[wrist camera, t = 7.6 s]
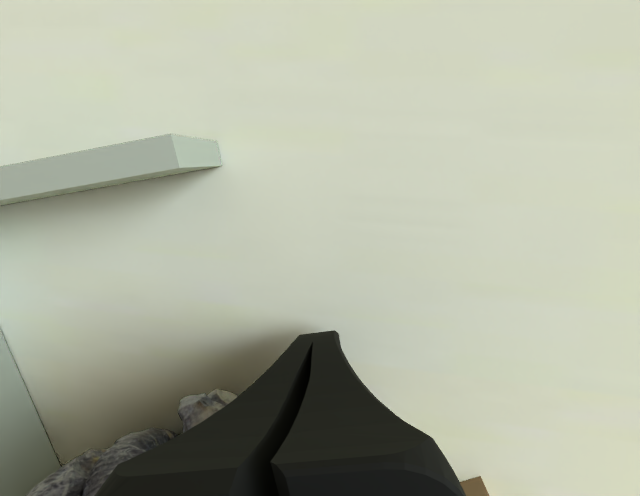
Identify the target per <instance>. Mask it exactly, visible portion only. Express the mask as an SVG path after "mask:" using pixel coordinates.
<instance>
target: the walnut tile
mask: <svg viewBox="0 0 640 496" xmlns="http://www.w3.org/2000/svg"><path fill="white" fill-rule="evenodd" d="M460 484H461V486H462V488H463V490H464V492H465V494H466V496H489V494H488V492H487V490H486V487H485V485H484V483H483V481H482V479H481V476H479V477H476V478H473V479H469V480H466V481H463V482H460Z"/></svg>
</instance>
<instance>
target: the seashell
mask: <svg viewBox="0 0 640 496" xmlns="http://www.w3.org/2000/svg"><path fill="white" fill-rule="evenodd" d="M237 397H238V396H237V395H235V394H233V393H231V392H228V391H224V390H220V389H215V390H213V391H212V392H210V393H209V394H208V395H206V393H202V394H199V395H189V396H186V397H183V398H182V399H181V400H180V405H179V409H178V414H179V416H180V418H181V420H182V421H183V433H184V432H186V431H187V430H189V429H191V428H192V427H194V426H196V425H197V424H199V423H201V422H202V421H204V420H205V419H207V418H208V417H210V416H211V415H213V414H214V413H216V412H217V411H219V410H220V409H222V408H223V407H225V406H226V405H228V404H229V403H230V402H232V401H233V400H234V399H235V398H237ZM176 436H177V435H176V434H175V433H173V432H172V431H169V430H162V429H157V428H149V429H147V430H144V431H139V432H133V433H130V434H128V435H125V436H123V437H121V438H120V439H118V440H116V442H115V443H114V444H113V446H111V447H110V448H109V449H89V450H88V451H86V452H85V453H83V455H81V456H78V457H77V458H75V459H73V460H71V461H70V462H68V463H67V464H65V465H64V466H62V467H61V468H59V469H58V470H57V471H56V472H55V473H52V474H50V475H49V476H48V477H47V478H45V479H44V480H43V481H41V482H40V483H39V484H37V485H36V486H35V487H34V488H33V489H32V490H31V491H30V492H28V493H27V494H26V495H25V496H95V494H96V493H97V492H98V490H99V489H100V488H101V486H102V485H103V483H104V482H105V481H106V479H107V478H108V477H109V475H110V474H111V473H112V471H113V470H114V469H115V467H116V466H117V465H118V464H120V463H122V462H124V461H127V460H129V459H131V458H133V457H135V456H138V455H140V454H142V453H144V452H146V451H148V450H150V449H153V448H155V447H157V446H159V445H161V444H163V443H165V442H167V441H169V440H171V439H173V438H175V437H176Z"/></svg>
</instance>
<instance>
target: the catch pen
mask: <svg viewBox="0 0 640 496" xmlns="http://www.w3.org/2000/svg"><path fill="white" fill-rule="evenodd" d="M219 166H222V162H221V157H220V153H219V149H218V145H217V141H214V140H208V139H201V138H195V137H189V136H182V135H176V134H167V135H162V136H156V137H151V138H146V139H141V140H136V141H130V142H125V143H120V144H115V145H110V146H105V147H99V148H94V149H89V150H84V151H79V152H73V153H68V154H63V155H58V156H53V157H47V158H42V159H37V160H32V161H27V162H21V163H16V164H11V165H6V166H1V167H0V205H6V204H12V203H17V202H23V201H28V200H34V199H40V198H45V197H51V196H56V195H62V194H68V193H73V192H79V191H84V190H90V189H96V188H101V187H107V186H112V185H118V184H124V183H129V182H135V181H140V180H146V179H152V178H157V177H163V176H168V175H174V174H180V173H185V172H191V171H196V170H202V169H208V168H213V167H219ZM59 468H61V466H60V464H59V462H58V459H57V457H56V455H55V453H54V450H53V448H52V446H51V443H50V441H49V439H48V437H47V434H46V432H45V430H44V427H43V425H42V423H41V421H40V418H39V416H38V414H37V412H36V409H35V407H34V405H33V402H32V400H31V398H30V396H29V393H28V391H27V389H26V387H25V384H24V382H23V380H22V377H21V375H20V373H19V371H18V368H17V366H16V364H15V361H14V359H13V357H12V355H11V352H10V350H9V348H8V346H7V343H6V341H5V339H4V336H3V334H2V332H1V330H0V496H25V495H26V494H27V493H28V492H30V491H31V490H32V489H33V488H34V487H35V486H36V485H37V484H39V483H40V482H41V481H43V480H44V479H45V478H47V477H48V476H49V475H50V474H52V473H55V472H56V471H57V470H58V469H59Z"/></svg>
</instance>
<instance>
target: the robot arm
mask: <svg viewBox="0 0 640 496" xmlns="http://www.w3.org/2000/svg"><path fill="white" fill-rule="evenodd" d="M95 496H466V494H465V492H464V490H463V488H462V486H461V484H460V482H459V480H458V478H457V476H456V475H455V473H454V471H453V469H452V467H451V466H450V464H449V463H448V461H447V459H446V458H445V456H444V455H443V453H442V452H441V450H440V448H439V447H438V445H437V444H436V443H435V441H434V440H433V438H431V437H430V436H429V435H427V434H425V433H423V432H422V431H420V430H418V429H416V428H415V427H413V426H411V425H410V424H408V423H406V422H405V421H403V420H402V419H400V418H399V417H398V416H396V415H395V414H394V413H393V412H392V411H390V410H389V409H388V408H387V407H386V406H385V405H384V404H382V403H381V402H380V401H379V400H378V399H377V398H376V397H375V396H374V395H373V394H372V393H371V392H370V391H369V390H368V389H367V387H366V386H365V385H364V384H363V383H362V381H361V380H360V379H359V378H358V376H357V375H356V373H355V372H354V370H353V369H352V367H351V366H350V364H349V363H348V361H347V359H346V357H345V355H344V353H343V351H342V349H341V346H340V340H339V334H338V333H337V332H336V331H327V332H319V333H311V334H303V335H299V336H298V337H297V338H296V339H295V341H294V342H293V343H292V344H291V345H290V346H289V347H288V349H287V350H286V351H285V352H284V353H283V354H282V355H281V356H280V357H279V359H278V360H277V361H276V362H275V363H274V364H273V365H272V366H271V367H270V368H269V369H268V370H267V371H266V372H265V373H264V374H263V375H262V376H261V377H260V378H259V379H258V380H257V381H256V382H255V383H254V384H252V385H251V386H250V387H249V388H248V389H247V390H245V391H244V392H243V393H242V394H241V395H239V396H238V397H237V398H235V399H234V400H233V401H232V402H230V403H229V404H228V405H226V406H225V407H223V408H222V409H220V410H219V411H217V412H216V413H214V414H213V415H211V416H210V417H208V418H207V419H205V420H204V421H202V422H201V423H199V424H197V425H196V426H194V427H192V428H191V429H189V430H187V431H186V432H184V433H182V434H180V435H178V436H176V437H175V438H173V439H171V440H169V441H167V442H165V443H163V444H161V445H159V446H157V447H155V448H153V449H150V450H148V451H146V452H144V453H142V454H140V455H138V456H135V457H133V458H131V459H129V460H127V461H124V462H122V463H120V464H118V465H117V466H116V467H115V469H114V470H113V471H112V473H111V474H110V475H109V477H108V478H107V479H106V481H105V482H104V483H103V485H102V486H101V488H100V489H99V490H98V492H97V493H96V494H95Z"/></svg>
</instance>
